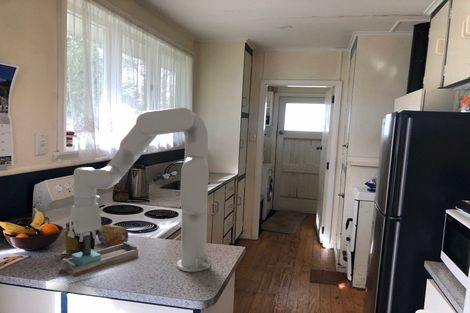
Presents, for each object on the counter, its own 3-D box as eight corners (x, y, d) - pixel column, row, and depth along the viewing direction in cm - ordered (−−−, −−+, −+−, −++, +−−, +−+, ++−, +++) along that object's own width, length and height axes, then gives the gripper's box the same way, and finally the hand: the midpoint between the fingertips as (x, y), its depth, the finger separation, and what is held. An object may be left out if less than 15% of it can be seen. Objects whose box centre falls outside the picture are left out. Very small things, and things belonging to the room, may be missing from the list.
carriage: (101, 262, 132) (100, 236, 131) (82, 268, 127) (82, 240, 126) (90, 256, 137) (89, 231, 136) (72, 261, 132) (71, 235, 131)
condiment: (68, 247, 151) (67, 220, 150) (88, 247, 152) (88, 220, 151) (61, 254, 144) (60, 225, 143) (83, 253, 145) (82, 225, 144)
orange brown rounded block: (97, 243, 158) (96, 224, 157) (101, 240, 161) (101, 222, 160) (125, 247, 153) (125, 228, 152) (129, 245, 156) (129, 226, 155)
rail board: (138, 256, 143) (138, 247, 143) (74, 276, 123) (74, 266, 123) (123, 250, 150) (123, 241, 149) (61, 268, 130) (61, 258, 130)
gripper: (101, 196, 138) (101, 242, 140) (58, 203, 126) (59, 253, 128) (111, 199, 134) (112, 246, 135) (67, 206, 121) (69, 258, 123)
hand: (86, 249), depth 131 cm, fingers closed on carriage, 3 cm apart
